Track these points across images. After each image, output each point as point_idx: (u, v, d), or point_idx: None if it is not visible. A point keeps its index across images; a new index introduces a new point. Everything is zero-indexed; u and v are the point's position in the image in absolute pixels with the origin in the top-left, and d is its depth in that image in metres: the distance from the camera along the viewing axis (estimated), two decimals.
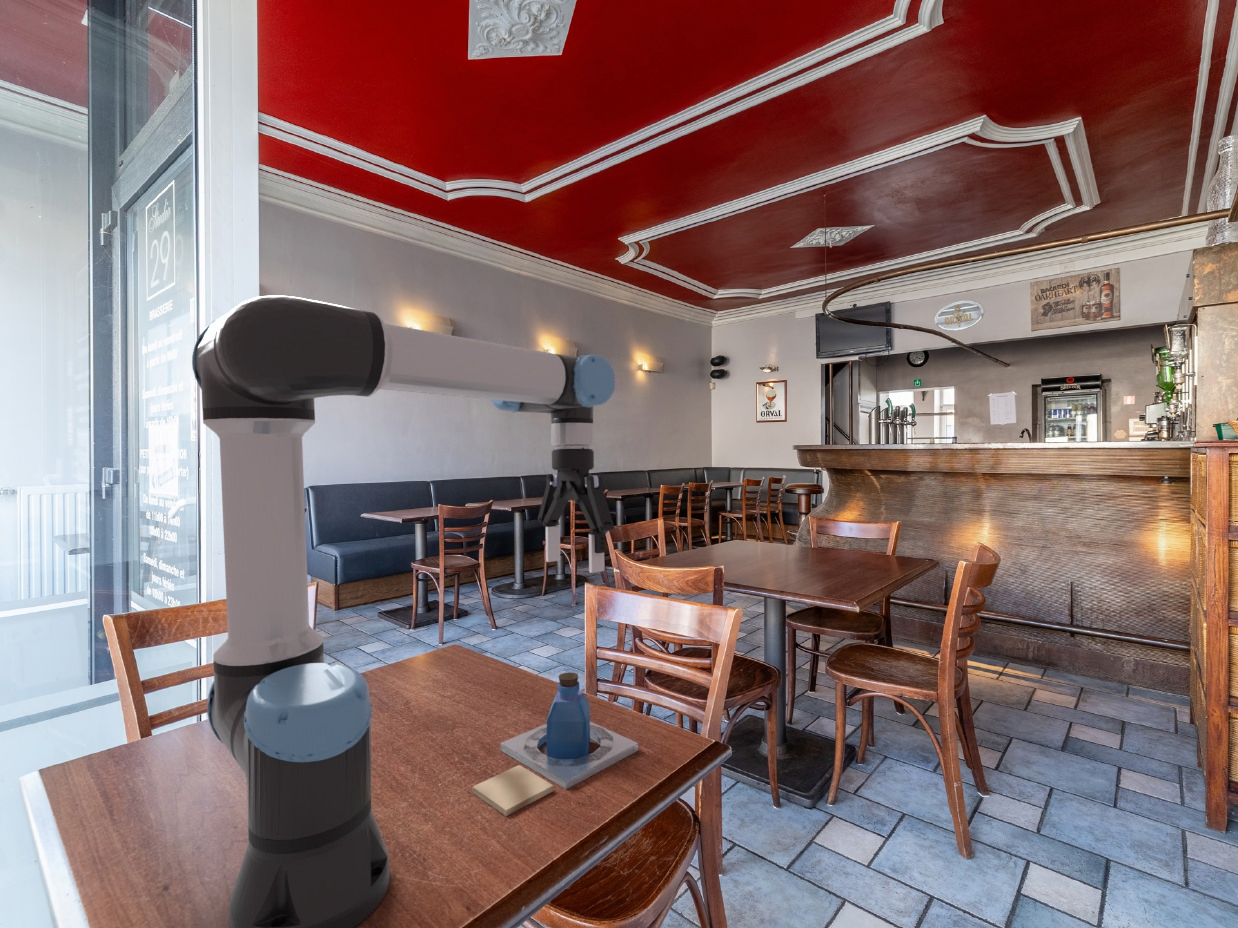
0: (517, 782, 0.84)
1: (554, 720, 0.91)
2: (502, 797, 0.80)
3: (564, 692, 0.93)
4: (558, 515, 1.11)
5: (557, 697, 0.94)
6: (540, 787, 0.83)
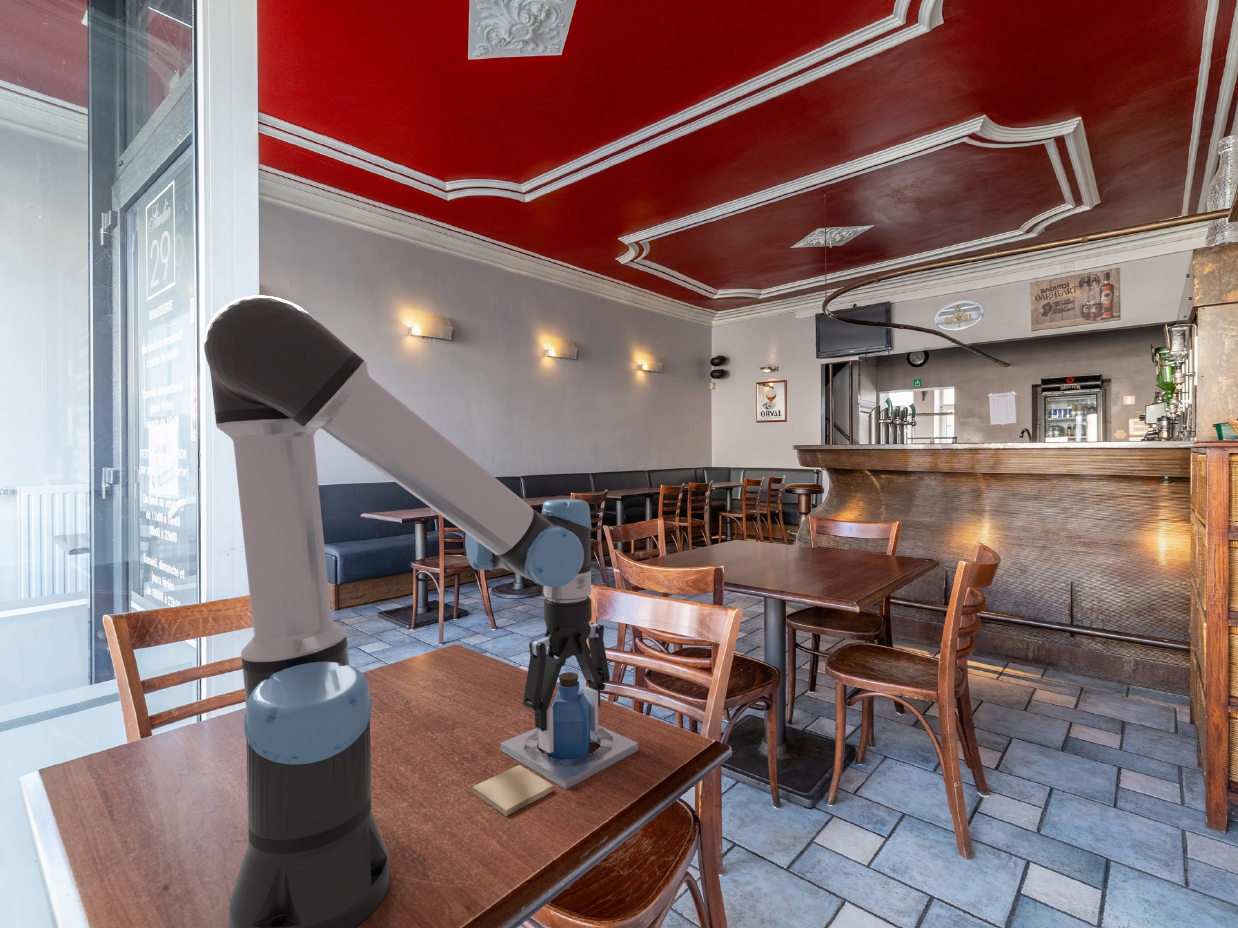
0: (517, 782, 0.84)
1: (554, 719, 0.91)
2: (502, 797, 0.80)
3: (564, 692, 0.93)
4: (589, 675, 0.97)
5: (557, 696, 0.94)
6: (540, 787, 0.83)
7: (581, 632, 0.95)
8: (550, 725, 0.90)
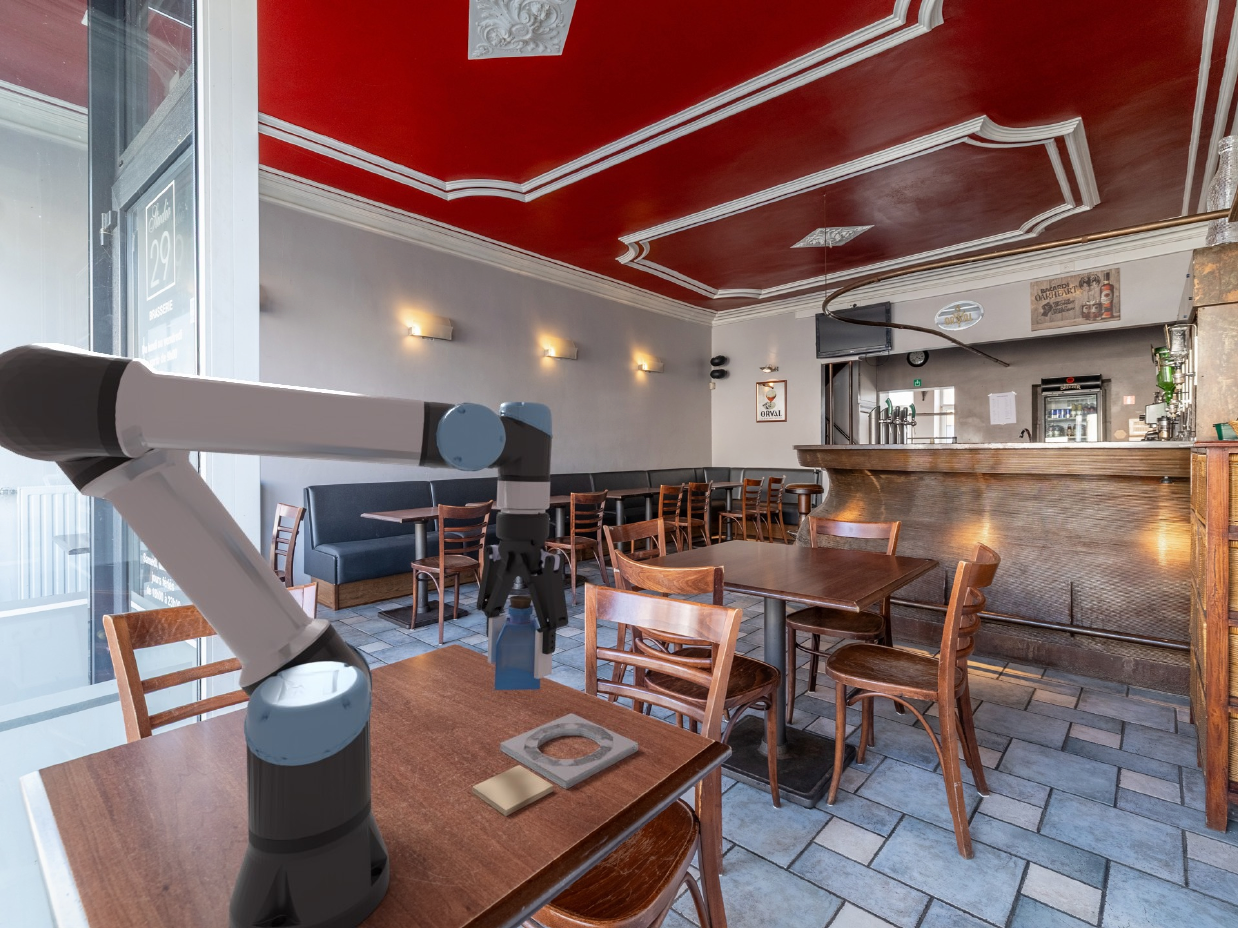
0: (517, 782, 0.84)
1: None
2: (502, 797, 0.80)
3: (531, 612, 0.85)
4: (504, 599, 0.88)
5: (521, 624, 0.83)
6: (540, 787, 0.83)
7: None
8: None
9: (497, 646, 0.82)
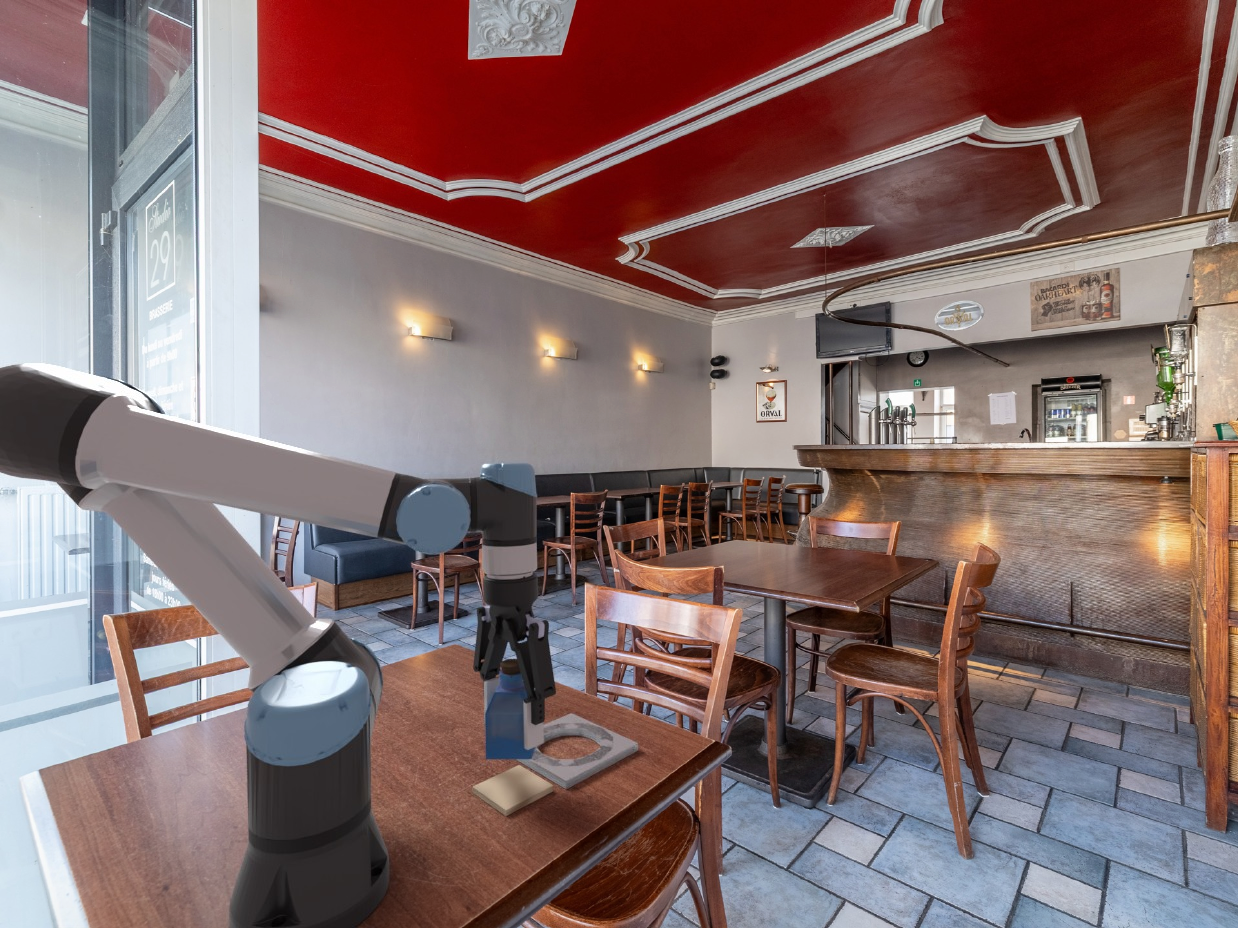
0: (517, 782, 0.84)
1: None
2: (502, 797, 0.80)
3: None
4: (498, 661, 0.86)
5: (511, 691, 0.81)
6: (540, 787, 0.83)
7: None
8: None
9: (486, 715, 0.80)
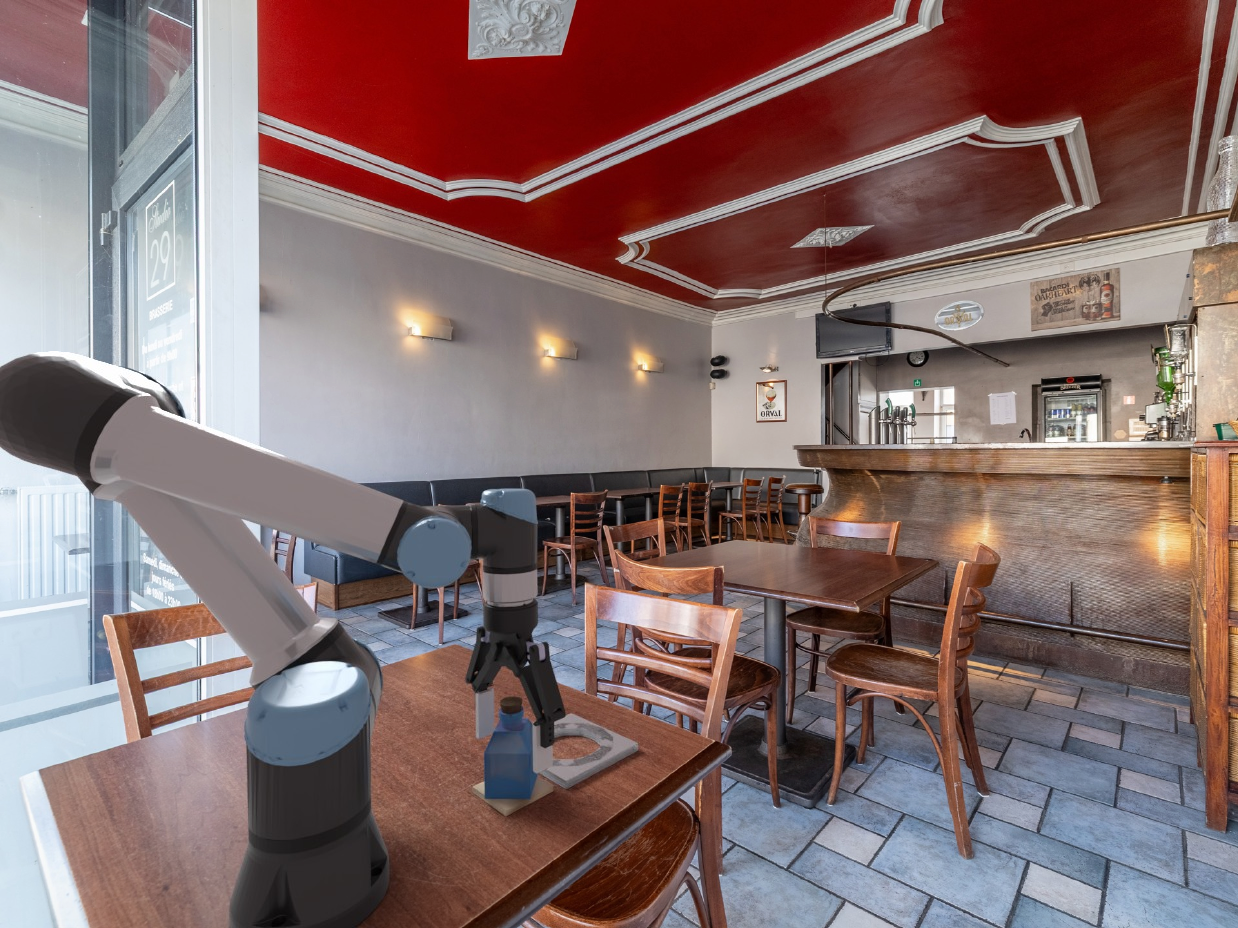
0: None
1: (531, 748, 0.81)
2: None
3: (522, 716, 0.82)
4: (492, 677, 0.87)
5: (510, 730, 0.81)
6: (540, 787, 0.83)
7: None
8: None
9: (485, 754, 0.80)
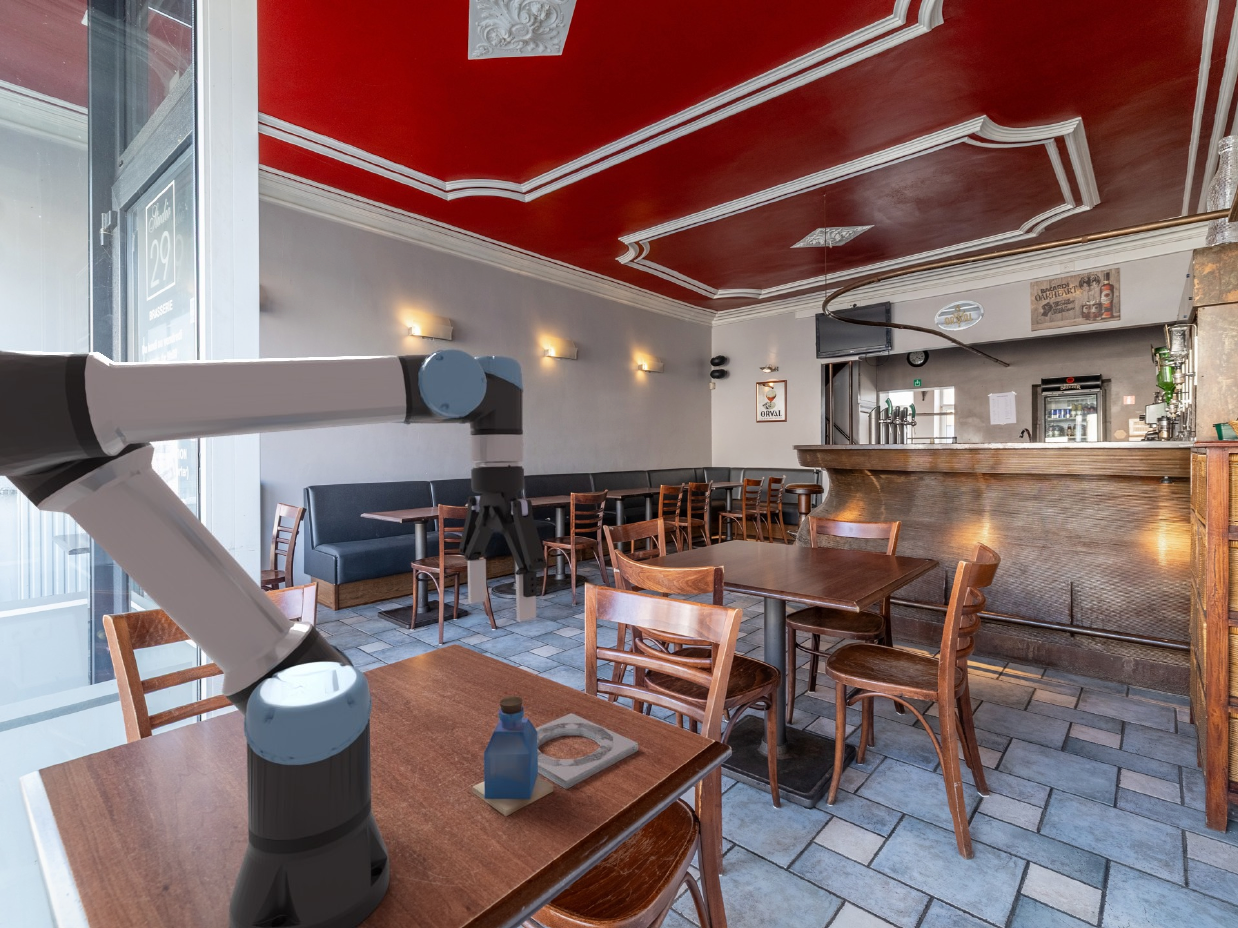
0: None
1: (531, 748, 0.81)
2: None
3: (522, 716, 0.82)
4: (483, 546, 0.91)
5: (510, 730, 0.81)
6: (540, 787, 0.83)
7: None
8: None
9: (485, 754, 0.80)
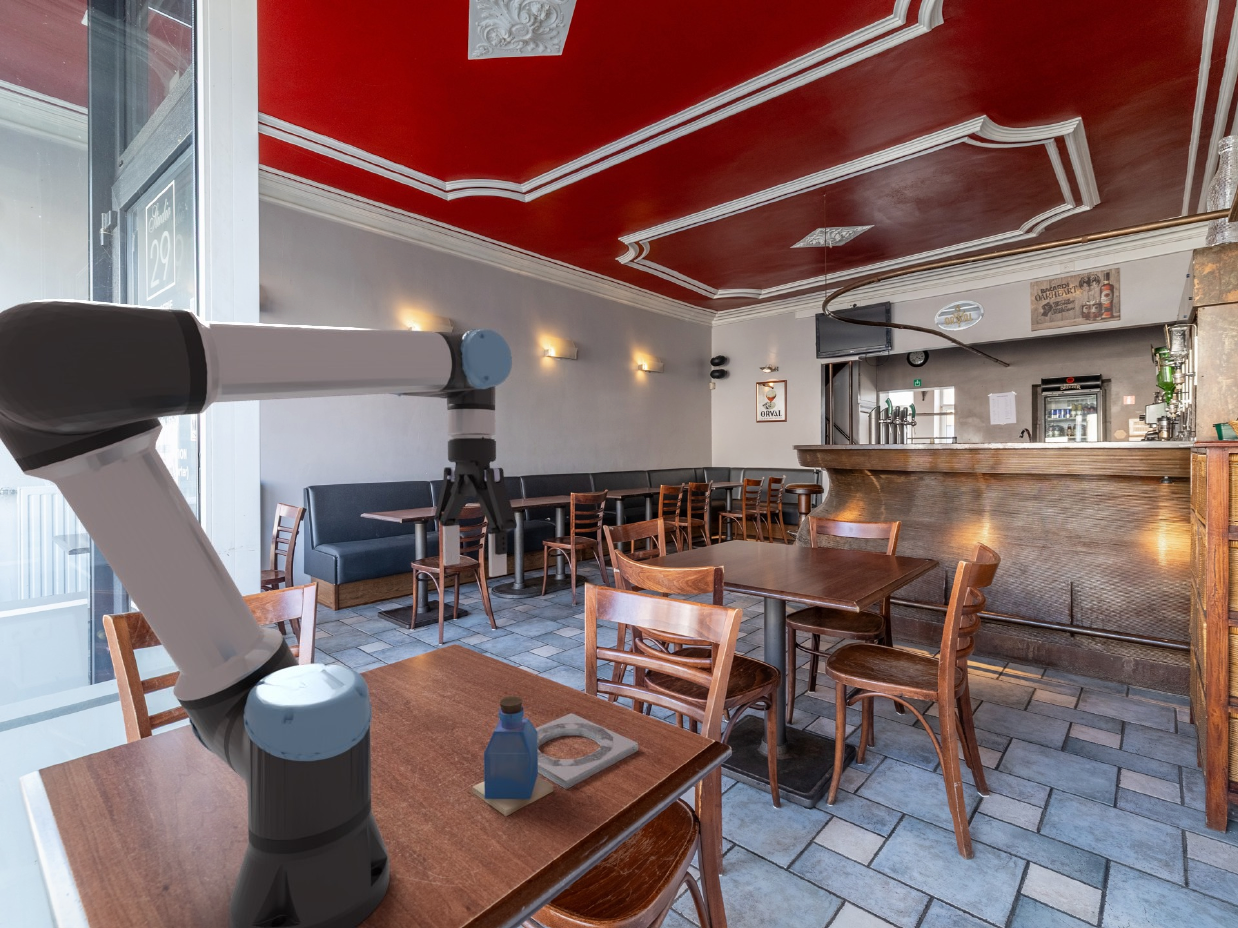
0: None
1: (531, 748, 0.81)
2: None
3: (522, 716, 0.82)
4: (457, 513, 1.00)
5: (510, 730, 0.81)
6: (540, 787, 0.83)
7: None
8: None
9: (485, 754, 0.80)
